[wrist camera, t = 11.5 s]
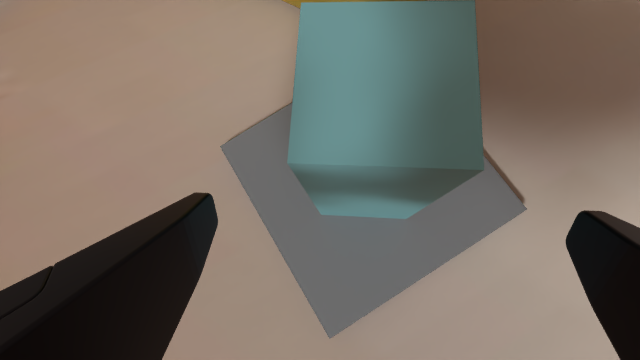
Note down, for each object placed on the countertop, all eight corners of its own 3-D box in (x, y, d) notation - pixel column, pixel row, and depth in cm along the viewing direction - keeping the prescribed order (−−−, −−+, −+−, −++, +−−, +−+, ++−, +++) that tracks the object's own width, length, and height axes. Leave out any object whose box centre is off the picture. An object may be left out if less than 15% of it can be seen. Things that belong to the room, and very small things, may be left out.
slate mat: (521, 210, 17) (527, 209, 17) (330, 335, 17) (329, 338, 16) (390, 48, 20) (392, 41, 19) (223, 149, 19) (220, 146, 19)
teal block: (406, 219, 17) (483, 170, 7) (321, 214, 17) (287, 163, 8) (406, 138, 18) (474, 0, 8) (325, 135, 18) (301, 2, 9)
